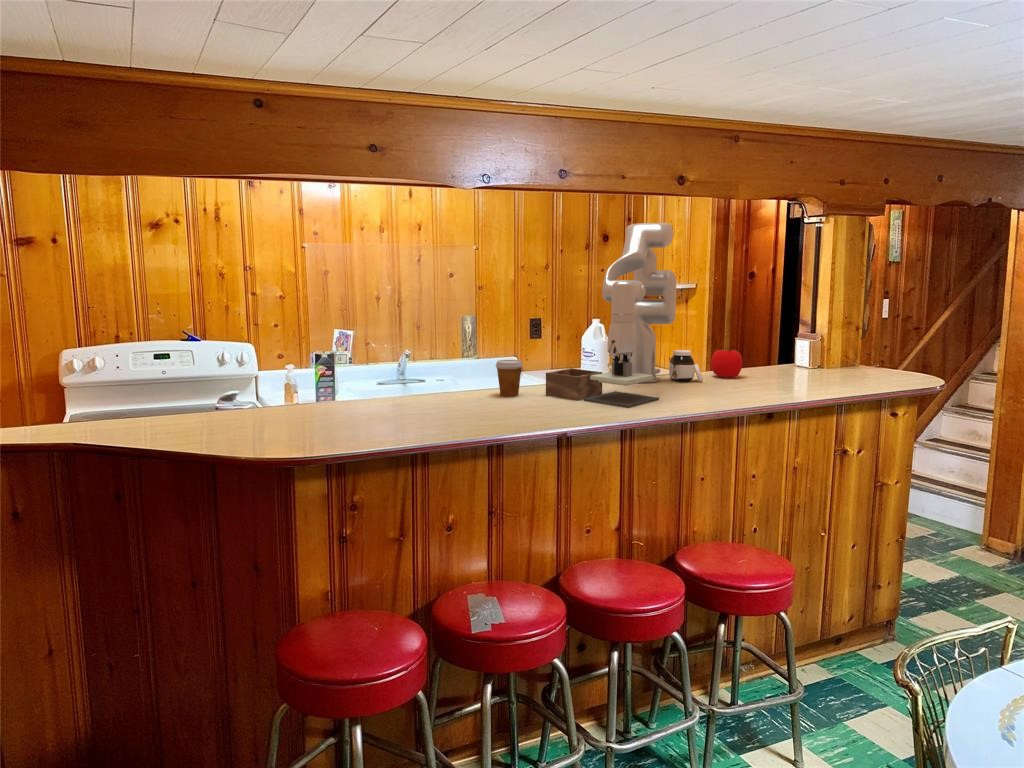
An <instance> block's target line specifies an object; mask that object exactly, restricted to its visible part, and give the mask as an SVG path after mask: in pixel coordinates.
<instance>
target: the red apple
mask: <svg viewBox="0 0 1024 768" xmlns="http://www.w3.org/2000/svg"><path fill="white" fill-rule="evenodd" d="M742 367H743V357H742V354H741V353H740V352H739V351H738V350H736V349H730V348H727V349H723V348H720V349H718V350H715V351H714V352H713V354H712V356H711V359H710V369H711V371H712V372H713V374H714V375H716V376H717V377H720V378H727V379H732V378H736V377H738V376H739V375H740V374H741V371H742Z"/></svg>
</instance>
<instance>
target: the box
mask: <svg viewBox="0 0 1024 768" xmlns="http://www.w3.org/2000/svg"><path fill="white" fill-rule="evenodd" d="M602 373H603V371H595V370H589V369H588V370H587V369H581V368H580V369H579V368H572V367H570V368H565V369H559V370H554V371H549V372H545V396H547V397H552V398H558V399H559V398H561V399H566V400H571V401H581V400H584V398H588V397H592V396H597V395H601V394H603V383H601V382H598V380H592V379H590V376H591V375H597V374H602Z"/></svg>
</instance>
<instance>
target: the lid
mask: <svg viewBox="0 0 1024 768" xmlns="http://www.w3.org/2000/svg"><path fill="white" fill-rule="evenodd" d="M622 363H623V375H615V374H614V362H613V361H611V371H608V372H602V374H597V375H591V376H590V379H592V380H598V382H601V383H602V384H610V385H617V386H626V387H627V386H631V385H635V384H642V383H641V382H645V380H650V379H653V375H647V374H639V373H632V362H623V361H622Z"/></svg>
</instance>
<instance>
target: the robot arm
mask: <svg viewBox="0 0 1024 768" xmlns="http://www.w3.org/2000/svg"><path fill="white" fill-rule="evenodd" d="M673 239H674V229H673V226H672V225H671V223H668V222H644V223H643V222H642V223H641V222H639V223H632V224H629V225H627V227H626V228H625V240H624V243H623V244H624V245H623V250H622V255H621V256H620V257H619V258H617V259H616V260H615V261H614V262H613V263H612V264H611V265H609V267H608V268H607V270H606V271H605V273H604V278H603V284H602V290H601V291H602V292H601V294H602V295H601V296H602V298H603V300H604V301H606V302H608V303H611V315H610V316H611V318H610V321H611V323H610V325H609V328H608V329H609V330H608V336H607V353H608V356H609V357H610V358H611V359H612V362H614V374H615V375H623V363H622V361H623V362H632V373H639V374H647V375H653V379H650V380H645V382H641V383H640V384H650V383H652V384H653V383H658V382H659V381H660V378H659V377H658V376H656V375H657V374H661V369H660V368H656V351H657V350H656V347H657V346H656V345H657V344H656V343H657V335H656V333H655V330H654V329H653V328H652V327H651V325H671V324H673V323H674V322H675V319H676V314H677V313H676V312H677V279H676V278H677V277H676V274H675V273H674V272H673V271H672V270H670V269H669V270H667V269H657V267H658V266H657V263H658V262H657V261H658V259H657V255H656V252H655V251H654V249H656V248H658V249H659V248H660V249H663V248H667V247H669V246H670V245H671V244H672V241H673ZM629 273H633V279H631V280H630V279H618V278H620V277H622V276H625V275H627V274H629ZM645 296H662V298H657V299H656V298H645Z"/></svg>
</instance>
